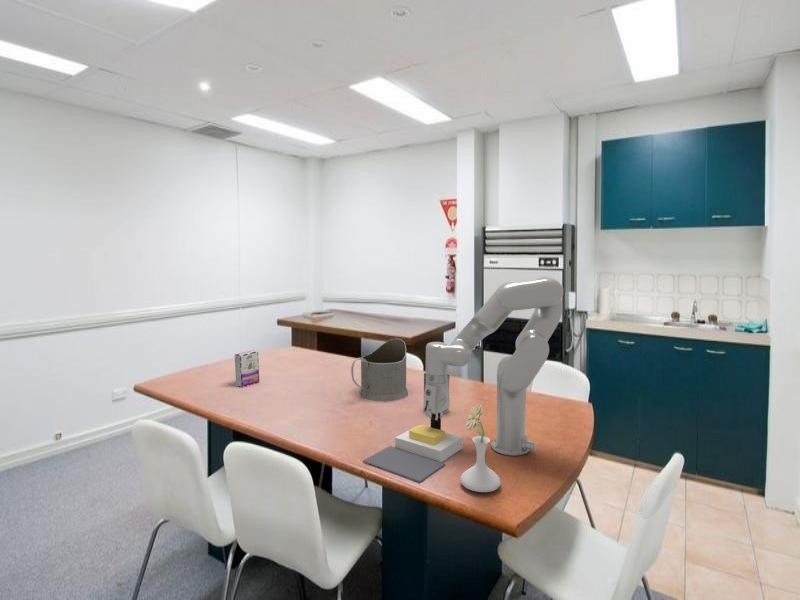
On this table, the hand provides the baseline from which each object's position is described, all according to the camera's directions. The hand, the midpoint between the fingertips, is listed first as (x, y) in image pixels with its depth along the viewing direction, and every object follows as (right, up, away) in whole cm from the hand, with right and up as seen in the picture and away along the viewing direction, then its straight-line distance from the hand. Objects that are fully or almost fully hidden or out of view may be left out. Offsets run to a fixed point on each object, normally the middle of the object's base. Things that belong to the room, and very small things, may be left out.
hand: (435, 429), depth 159 cm
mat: (-11, -7, -14) cm, 20 cm away
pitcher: (-23, 0, +54) cm, 59 cm away
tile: (-3, -2, -4) cm, 6 cm away
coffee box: (+3, -2, +34) cm, 34 cm away
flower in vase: (+10, -8, -29) cm, 32 cm away
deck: (-3, -6, -3) cm, 7 cm away
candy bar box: (-90, +2, +74) cm, 116 cm away
